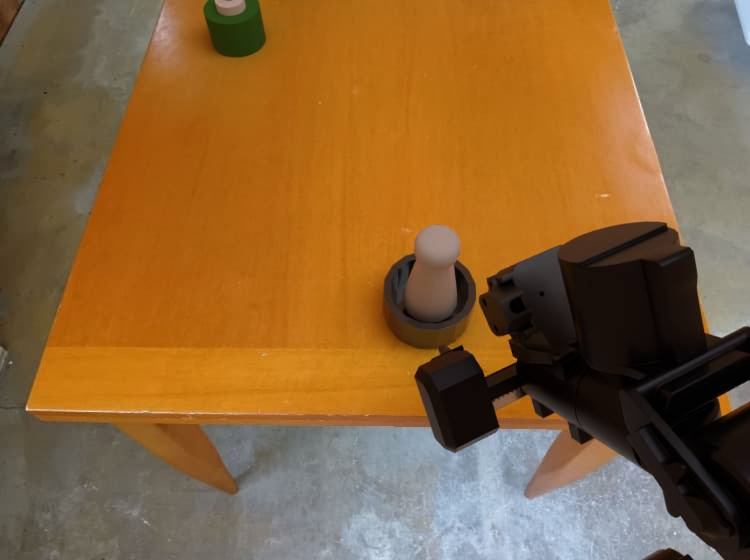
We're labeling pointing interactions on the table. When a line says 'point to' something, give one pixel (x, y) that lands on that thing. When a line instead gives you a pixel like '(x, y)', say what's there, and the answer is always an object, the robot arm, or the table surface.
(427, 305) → the salt shaker
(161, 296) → the table surface
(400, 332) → the holder
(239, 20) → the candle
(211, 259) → the table surface
